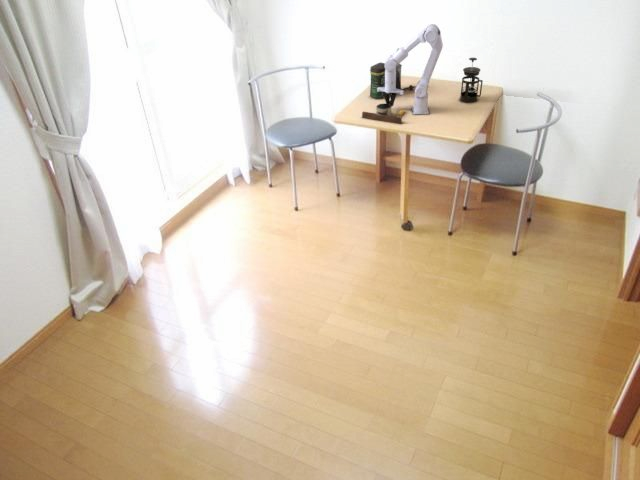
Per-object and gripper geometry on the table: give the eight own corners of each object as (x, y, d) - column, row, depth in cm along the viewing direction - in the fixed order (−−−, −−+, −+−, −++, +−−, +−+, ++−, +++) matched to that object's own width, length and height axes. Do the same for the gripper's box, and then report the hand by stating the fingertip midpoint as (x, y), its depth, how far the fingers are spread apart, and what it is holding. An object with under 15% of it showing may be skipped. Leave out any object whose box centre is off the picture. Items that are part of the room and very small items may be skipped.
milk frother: (382, 89, 306) (382, 64, 297) (405, 84, 311) (405, 59, 302) (395, 97, 296) (395, 71, 287) (418, 91, 301) (419, 66, 292)
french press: (456, 101, 286) (460, 59, 272) (462, 95, 292) (466, 54, 278) (476, 104, 280) (481, 62, 266) (482, 98, 286) (487, 56, 272)
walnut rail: (362, 117, 277) (362, 112, 275) (363, 116, 278) (363, 111, 276) (400, 124, 267) (400, 118, 265) (401, 122, 268) (401, 117, 266)
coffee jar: (379, 100, 294) (379, 67, 283) (367, 97, 299) (367, 65, 287) (388, 94, 300) (389, 62, 289) (377, 92, 304) (377, 60, 293)
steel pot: (387, 120, 272) (387, 110, 269) (373, 118, 275) (373, 108, 272) (398, 109, 282) (399, 99, 279) (385, 107, 286) (385, 97, 282)
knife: (400, 112, 279) (400, 109, 278) (404, 112, 278) (404, 110, 277) (391, 120, 271) (392, 118, 270) (395, 121, 270) (395, 119, 269)
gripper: (374, 82, 273) (374, 106, 281) (400, 85, 266) (399, 110, 275) (380, 77, 277) (380, 101, 286) (405, 80, 271) (404, 105, 279)
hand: (390, 105), depth 280 cm, fingers closed
